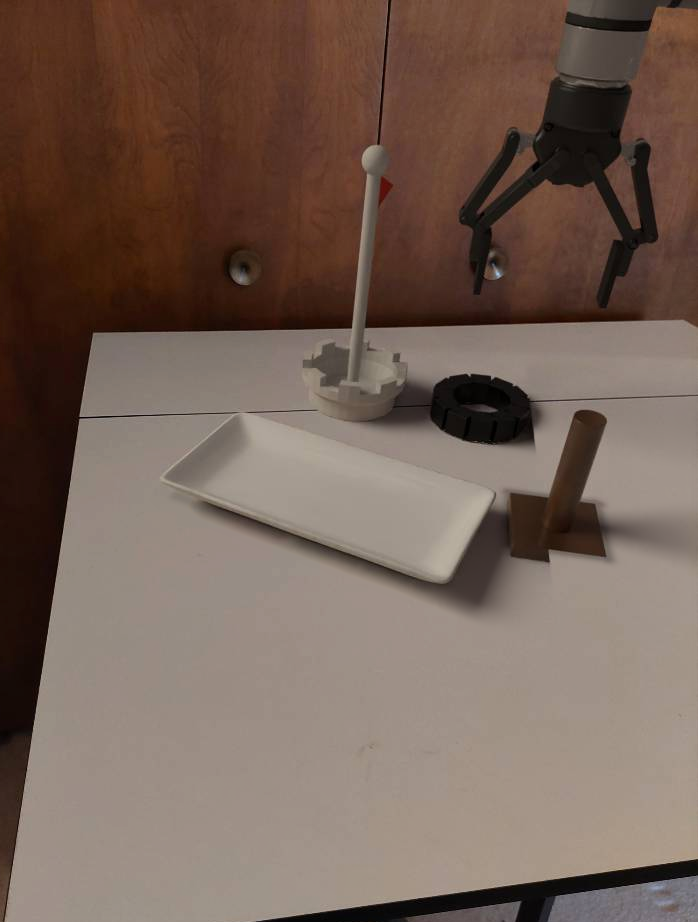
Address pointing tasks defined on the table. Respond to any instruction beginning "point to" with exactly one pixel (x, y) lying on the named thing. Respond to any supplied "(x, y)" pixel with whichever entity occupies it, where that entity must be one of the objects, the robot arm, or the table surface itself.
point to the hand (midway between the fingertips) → (538, 297)
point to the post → (562, 501)
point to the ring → (480, 423)
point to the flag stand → (358, 332)
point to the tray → (336, 495)
